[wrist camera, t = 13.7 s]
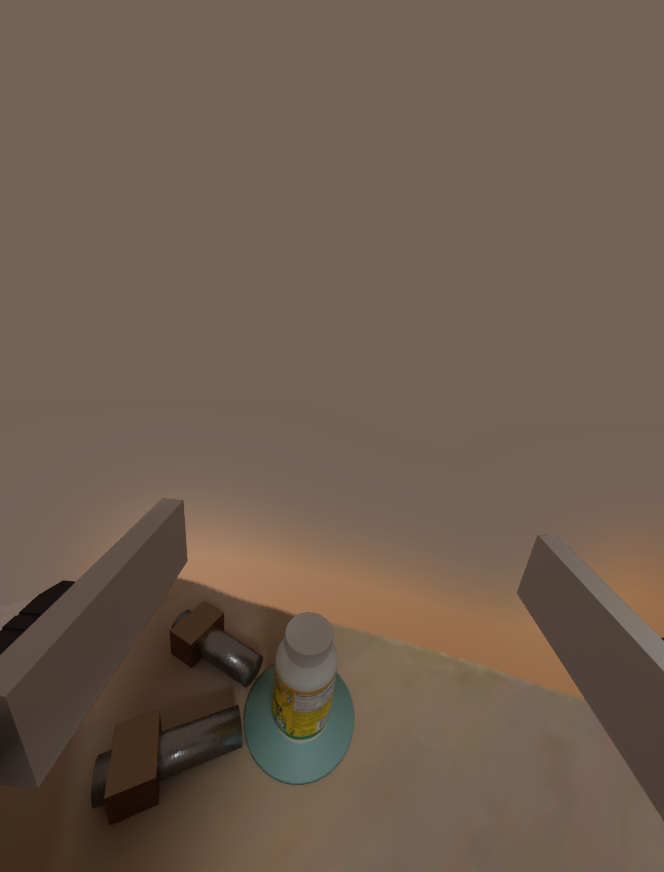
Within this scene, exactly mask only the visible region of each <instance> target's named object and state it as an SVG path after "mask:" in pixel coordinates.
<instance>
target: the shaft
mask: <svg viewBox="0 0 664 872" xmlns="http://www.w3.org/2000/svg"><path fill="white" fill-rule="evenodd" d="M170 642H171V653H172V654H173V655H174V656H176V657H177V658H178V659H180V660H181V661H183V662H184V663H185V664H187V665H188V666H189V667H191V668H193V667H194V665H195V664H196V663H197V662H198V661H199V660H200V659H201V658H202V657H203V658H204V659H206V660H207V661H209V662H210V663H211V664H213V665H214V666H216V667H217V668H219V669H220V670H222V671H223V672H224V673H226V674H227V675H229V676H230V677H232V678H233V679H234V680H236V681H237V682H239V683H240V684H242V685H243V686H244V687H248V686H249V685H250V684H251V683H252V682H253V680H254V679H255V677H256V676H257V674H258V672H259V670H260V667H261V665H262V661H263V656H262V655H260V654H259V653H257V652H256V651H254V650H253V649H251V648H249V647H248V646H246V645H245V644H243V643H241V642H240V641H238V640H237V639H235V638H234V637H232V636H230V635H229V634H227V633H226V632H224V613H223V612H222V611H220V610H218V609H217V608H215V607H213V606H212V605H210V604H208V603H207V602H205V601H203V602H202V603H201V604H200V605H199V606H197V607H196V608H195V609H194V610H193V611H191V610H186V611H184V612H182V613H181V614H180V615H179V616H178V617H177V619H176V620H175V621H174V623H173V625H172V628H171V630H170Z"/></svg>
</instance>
